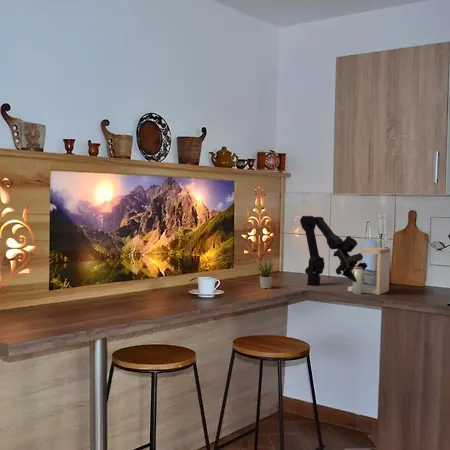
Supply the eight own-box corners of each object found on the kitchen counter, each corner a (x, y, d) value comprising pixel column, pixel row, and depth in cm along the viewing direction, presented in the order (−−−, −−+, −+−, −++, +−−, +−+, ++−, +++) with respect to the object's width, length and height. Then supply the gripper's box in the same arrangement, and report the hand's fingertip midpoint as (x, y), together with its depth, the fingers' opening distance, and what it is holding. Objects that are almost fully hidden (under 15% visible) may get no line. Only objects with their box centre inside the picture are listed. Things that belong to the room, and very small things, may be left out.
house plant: (281, 286, 360) (282, 256, 359) (281, 290, 346) (282, 259, 345) (255, 285, 361) (256, 255, 360) (254, 289, 347) (254, 258, 346)
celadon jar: (351, 293, 340) (352, 267, 339) (352, 292, 345) (353, 265, 344) (361, 294, 339) (362, 267, 338) (362, 293, 344) (363, 266, 343)
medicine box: (361, 284, 375) (362, 269, 375) (367, 283, 378) (367, 268, 377) (372, 286, 369) (373, 270, 368) (378, 285, 372) (378, 270, 371)
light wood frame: (346, 291, 349) (348, 248, 347) (357, 287, 362) (359, 246, 361) (379, 294, 340) (380, 250, 338) (388, 290, 353) (390, 248, 352)
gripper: (340, 248, 338) (355, 272, 330) (365, 247, 349) (380, 270, 341) (329, 262, 345) (343, 286, 337) (354, 260, 356) (368, 283, 348)
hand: (359, 281), depth 340 cm, fingers closed on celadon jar, 5 cm apart
